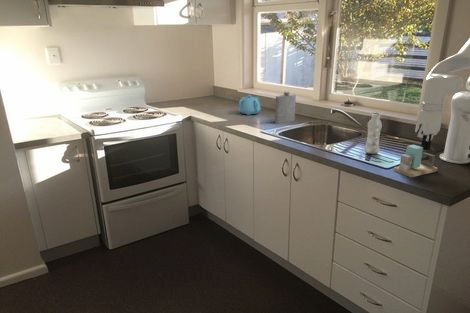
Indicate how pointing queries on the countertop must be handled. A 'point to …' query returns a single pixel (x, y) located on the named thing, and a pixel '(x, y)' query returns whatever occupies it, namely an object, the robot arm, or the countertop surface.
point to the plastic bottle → (373, 134)
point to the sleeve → (415, 155)
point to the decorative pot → (249, 105)
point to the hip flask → (285, 108)
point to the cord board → (424, 168)
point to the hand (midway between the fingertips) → (425, 149)
